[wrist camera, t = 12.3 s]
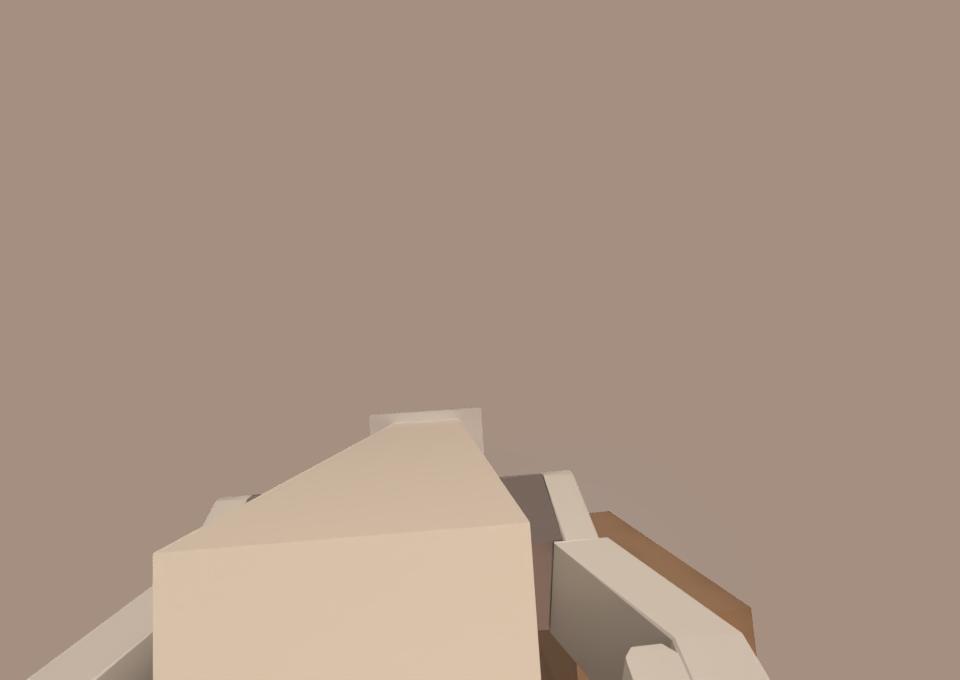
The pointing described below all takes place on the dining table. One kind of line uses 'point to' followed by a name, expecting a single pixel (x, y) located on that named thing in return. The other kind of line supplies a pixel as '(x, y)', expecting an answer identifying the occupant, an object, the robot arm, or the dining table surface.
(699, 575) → the tall stand
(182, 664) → the beige rectangular bar
